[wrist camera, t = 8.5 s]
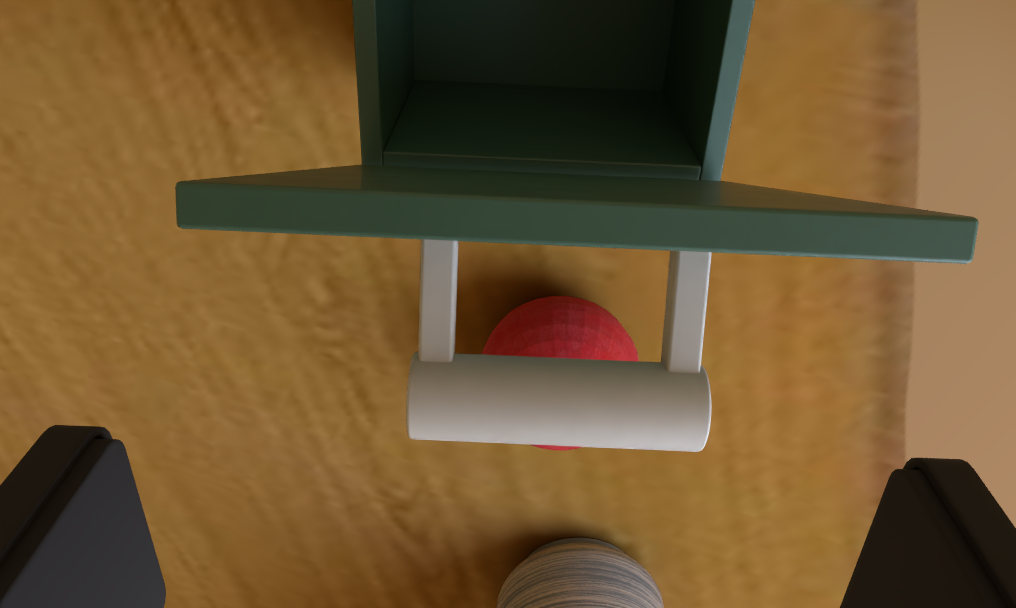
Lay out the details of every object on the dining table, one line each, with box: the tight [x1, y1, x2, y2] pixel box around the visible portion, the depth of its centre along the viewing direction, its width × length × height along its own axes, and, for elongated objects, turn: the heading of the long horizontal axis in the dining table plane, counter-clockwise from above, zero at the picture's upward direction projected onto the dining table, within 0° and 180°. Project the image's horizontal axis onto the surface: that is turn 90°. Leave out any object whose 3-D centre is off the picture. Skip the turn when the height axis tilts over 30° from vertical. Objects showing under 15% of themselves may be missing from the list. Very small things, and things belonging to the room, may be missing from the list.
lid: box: [175, 165, 978, 452], centre depth 22 cm, size 16×14×5 cm
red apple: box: [482, 296, 638, 450], centre depth 43 cm, size 9×9×8 cm
